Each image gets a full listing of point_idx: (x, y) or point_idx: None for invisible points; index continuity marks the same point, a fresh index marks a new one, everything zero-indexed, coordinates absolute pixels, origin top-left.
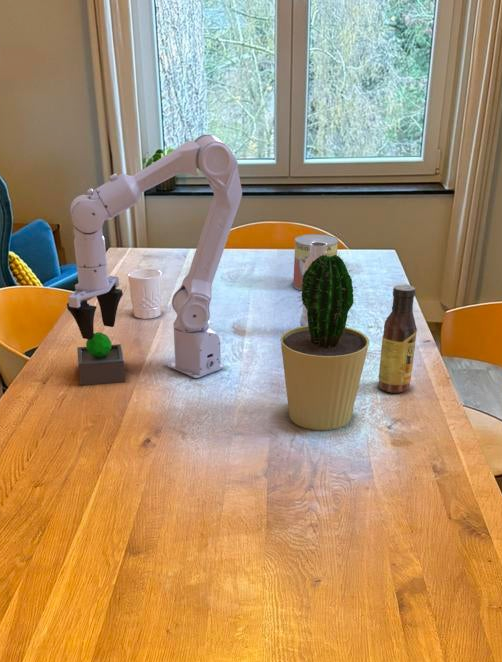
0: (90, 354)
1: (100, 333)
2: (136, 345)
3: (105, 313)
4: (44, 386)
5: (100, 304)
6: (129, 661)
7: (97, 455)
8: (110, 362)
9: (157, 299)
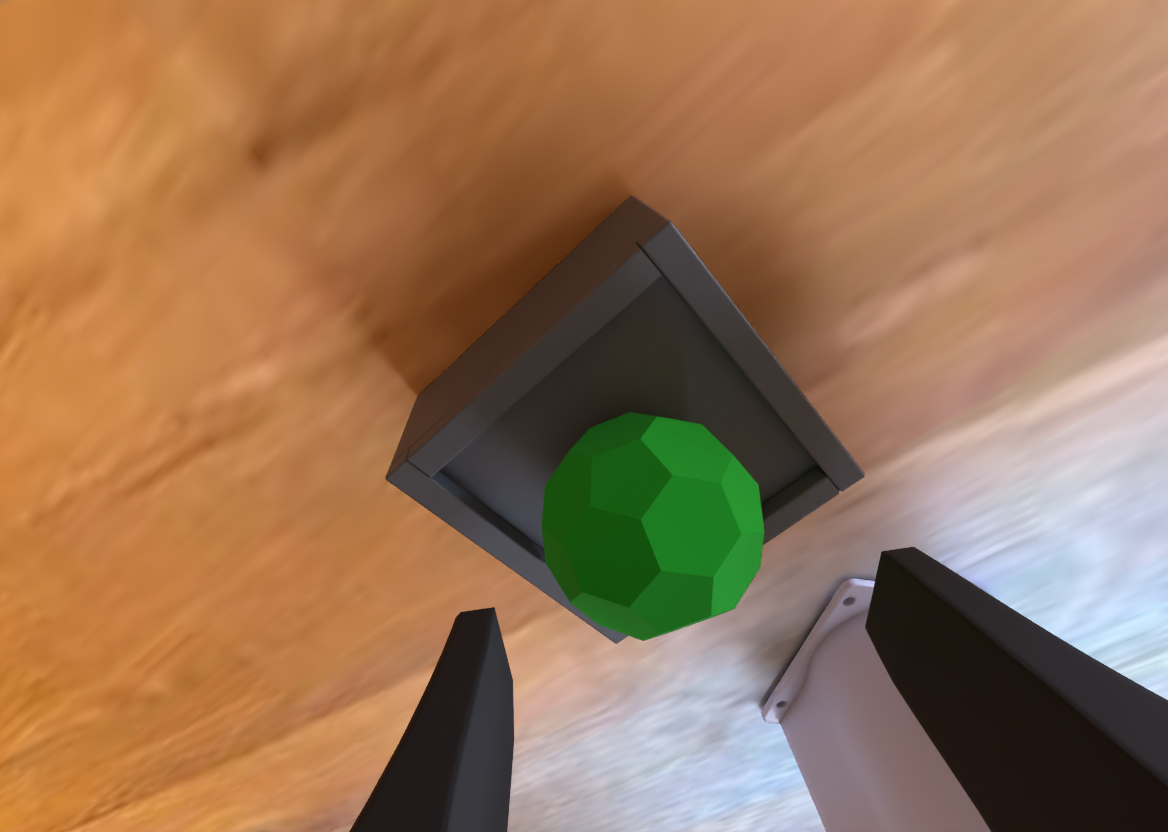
0: (631, 382)
1: (697, 610)
2: (1124, 271)
3: (988, 703)
4: (226, 197)
5: (1138, 792)
6: None
7: (36, 815)
8: (559, 597)
9: None
